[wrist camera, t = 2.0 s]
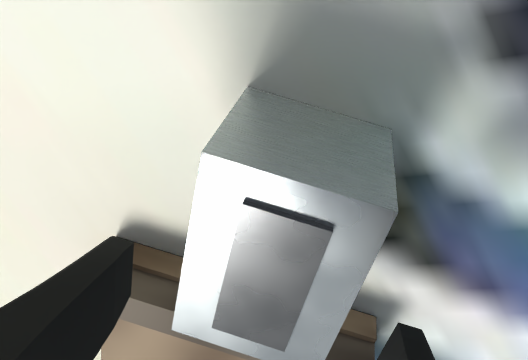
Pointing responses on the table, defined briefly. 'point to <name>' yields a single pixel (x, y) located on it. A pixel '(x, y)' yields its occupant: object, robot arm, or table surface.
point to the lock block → (284, 227)
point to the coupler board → (186, 347)
